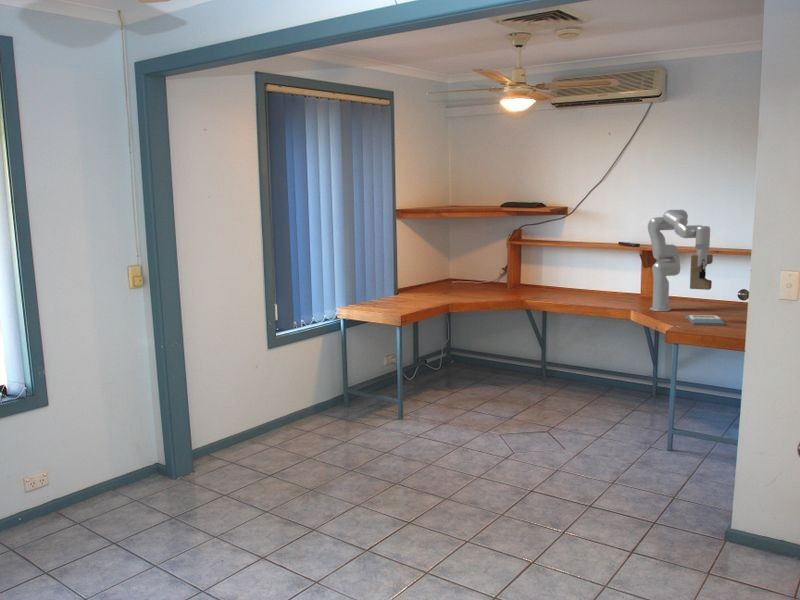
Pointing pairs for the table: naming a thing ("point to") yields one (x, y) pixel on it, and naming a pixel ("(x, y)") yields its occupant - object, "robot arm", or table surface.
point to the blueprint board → (704, 320)
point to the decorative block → (694, 274)
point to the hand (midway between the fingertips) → (701, 277)
